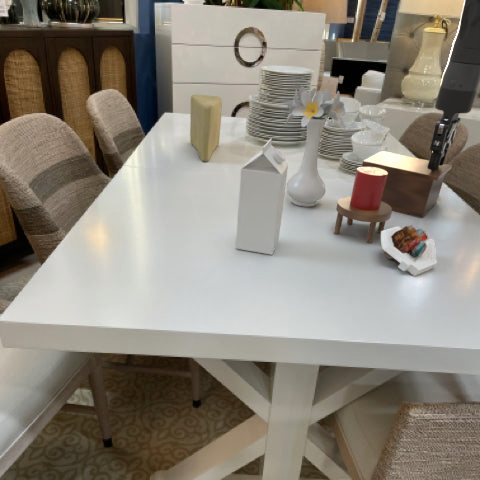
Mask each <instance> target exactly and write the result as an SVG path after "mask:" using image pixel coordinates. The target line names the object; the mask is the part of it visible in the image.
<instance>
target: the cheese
mask: <svg viewBox="0 0 480 480" xmlns="http://www.w3.org/2000/svg"><path fill="white" fill-rule="evenodd" d="M222 100H223V99H222V97H221V96H218V95H210V94H208V95H207V94H192V95H191V96H190V127H189V128H190V129H189V139H190V144H191V145H192V147H194V148H195V149H196V151H197V154H198V156H199V158H200V160H201V162H206V163H207V162H209V161H210V158H211V156H212V155H213V152H214V151H215V149H216V148H217V146H219V145H220V138H221V137H220V136H221V126H222V125H221V124H222V104H223V101H222Z"/></svg>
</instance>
